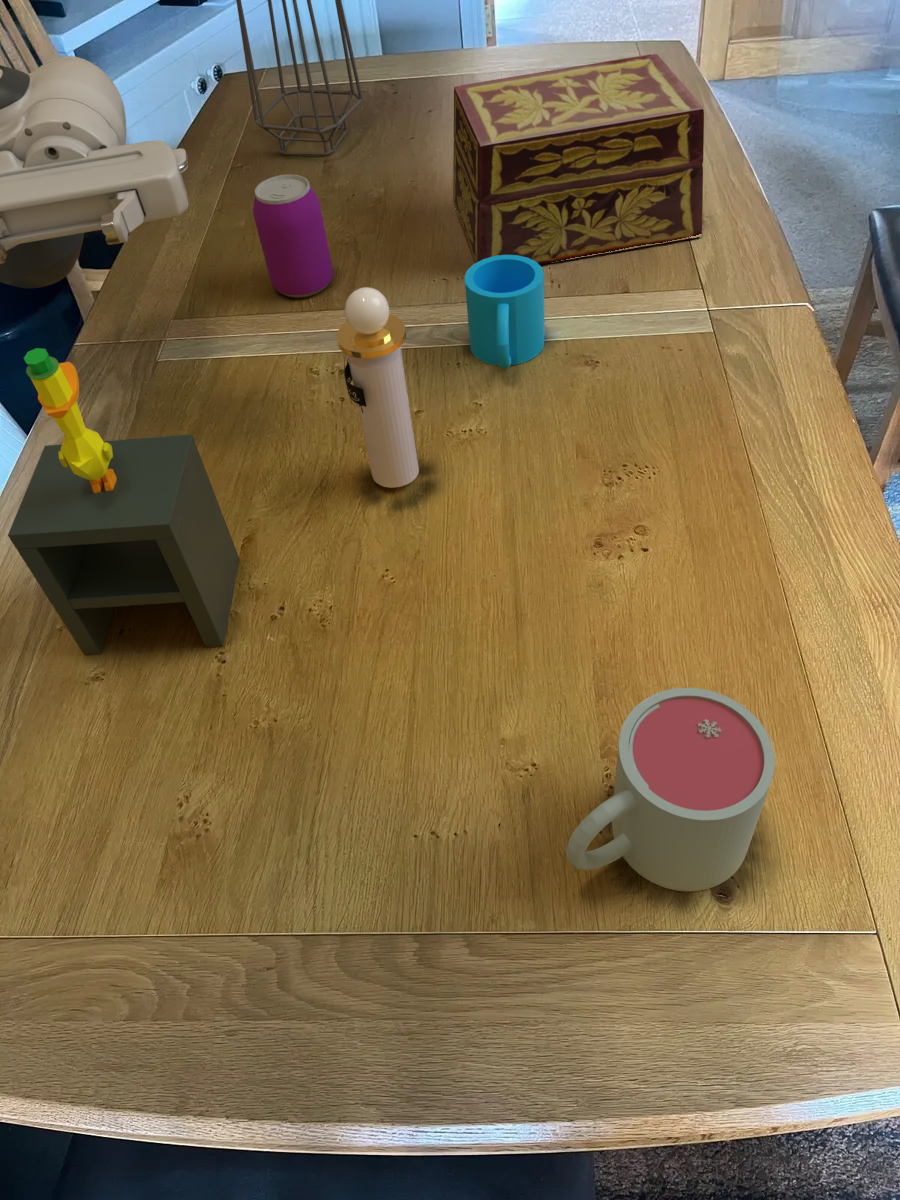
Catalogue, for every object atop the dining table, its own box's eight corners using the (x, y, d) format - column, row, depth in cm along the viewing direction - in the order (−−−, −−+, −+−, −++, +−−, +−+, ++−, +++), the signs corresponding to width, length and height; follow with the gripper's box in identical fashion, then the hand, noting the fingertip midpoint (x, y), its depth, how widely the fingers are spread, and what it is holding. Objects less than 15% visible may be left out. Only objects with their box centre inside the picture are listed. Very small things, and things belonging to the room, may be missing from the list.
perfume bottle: (414, 450, 92) (386, 264, 77) (434, 486, 89) (409, 298, 73) (359, 468, 91) (319, 283, 76) (377, 505, 88) (339, 318, 72)
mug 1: (472, 323, 106) (466, 256, 99) (544, 320, 105) (544, 253, 98) (465, 389, 98) (459, 321, 92) (544, 387, 97) (543, 318, 91)
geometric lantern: (290, 118, 146) (230, -166, 120) (383, 123, 142) (343, -170, 115) (245, 165, 137) (170, -132, 110) (344, 171, 133) (291, -135, 106)
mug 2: (691, 746, 68) (708, 665, 61) (778, 849, 63) (808, 773, 55) (530, 835, 65) (526, 761, 57) (606, 952, 59) (614, 887, 52)
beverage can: (289, 264, 117) (266, 168, 108) (344, 270, 115) (326, 173, 106) (261, 297, 113) (235, 201, 104) (319, 304, 111) (297, 207, 102)
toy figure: (84, 457, 73) (16, 323, 64) (130, 448, 73) (69, 314, 64) (77, 516, 68) (3, 381, 59) (126, 507, 69) (60, 371, 60)
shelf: (83, 655, 79) (7, 535, 68) (110, 567, 85) (44, 445, 74) (223, 646, 78) (168, 524, 67) (239, 558, 85) (192, 434, 74)
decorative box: (655, 170, 125) (664, 47, 113) (702, 238, 113) (719, 108, 101) (452, 204, 124) (442, 83, 112) (479, 277, 112) (470, 150, 100)
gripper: (198, 181, 83) (199, 260, 74) (-33, 221, 82) (-61, 305, 73) (176, 107, 78) (174, 181, 69) (-70, 148, 77) (-104, 229, 68)
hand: (51, 245), depth 71 cm, fingers open, 8 cm apart
